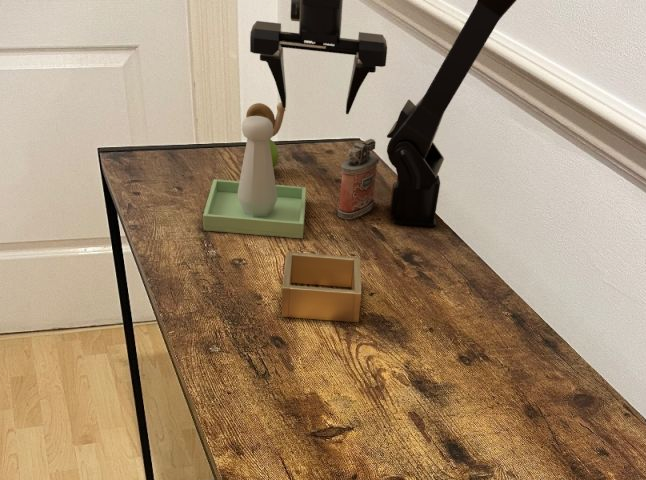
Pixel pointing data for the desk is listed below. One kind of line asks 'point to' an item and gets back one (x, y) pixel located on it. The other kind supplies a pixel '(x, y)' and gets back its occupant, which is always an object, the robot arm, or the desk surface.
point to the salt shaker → (257, 168)
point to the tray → (230, 216)
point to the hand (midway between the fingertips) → (315, 110)
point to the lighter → (358, 180)
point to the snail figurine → (266, 112)
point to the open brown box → (317, 299)
